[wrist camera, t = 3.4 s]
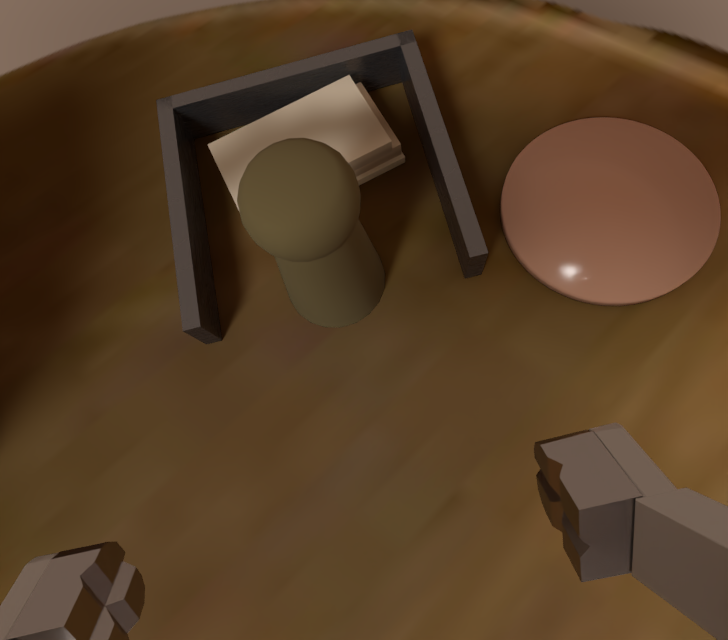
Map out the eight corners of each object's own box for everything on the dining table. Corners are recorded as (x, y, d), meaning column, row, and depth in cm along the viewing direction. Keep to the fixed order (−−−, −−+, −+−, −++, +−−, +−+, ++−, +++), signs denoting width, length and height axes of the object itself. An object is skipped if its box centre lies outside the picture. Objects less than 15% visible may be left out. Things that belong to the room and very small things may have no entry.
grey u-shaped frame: (481, 274, 28) (488, 252, 25) (206, 344, 29) (183, 331, 26) (412, 66, 33) (412, 29, 30) (178, 130, 34) (156, 100, 31)
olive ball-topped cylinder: (339, 217, 30) (297, 87, 20) (406, 279, 29) (398, 173, 18) (268, 280, 30) (185, 180, 19) (331, 348, 28) (279, 279, 17)
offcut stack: (405, 166, 31) (404, 136, 29) (255, 241, 31) (239, 219, 28) (364, 102, 33) (359, 68, 30) (222, 172, 33) (203, 144, 30)
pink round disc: (731, 154, 29) (739, 146, 28) (687, 335, 26) (695, 331, 25) (532, 106, 31) (535, 97, 30) (473, 267, 28) (474, 262, 28)
